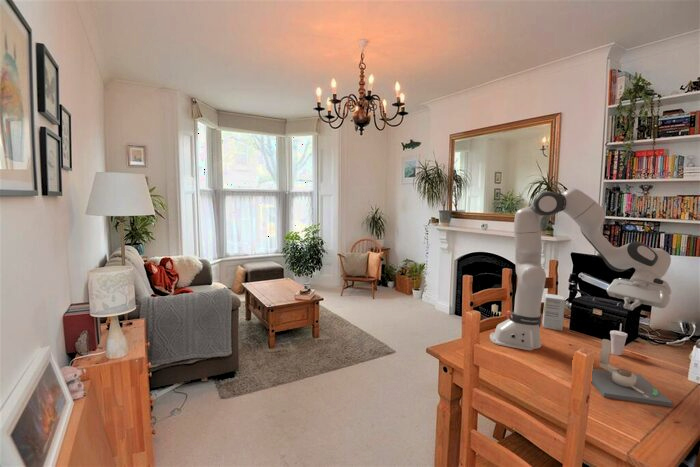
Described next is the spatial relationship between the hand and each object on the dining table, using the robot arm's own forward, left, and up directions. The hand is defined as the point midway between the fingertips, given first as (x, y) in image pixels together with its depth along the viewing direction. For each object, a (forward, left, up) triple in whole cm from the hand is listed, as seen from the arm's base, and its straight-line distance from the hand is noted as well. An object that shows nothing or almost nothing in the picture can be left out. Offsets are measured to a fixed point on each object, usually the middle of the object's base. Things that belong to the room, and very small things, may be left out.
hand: (627, 308), depth 143 cm
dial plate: (-6, -16, -25) cm, 31 cm away
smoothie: (+6, +18, -26) cm, 32 cm away
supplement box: (-12, +48, -26) cm, 55 cm away
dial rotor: (-7, -15, -24) cm, 29 cm away
